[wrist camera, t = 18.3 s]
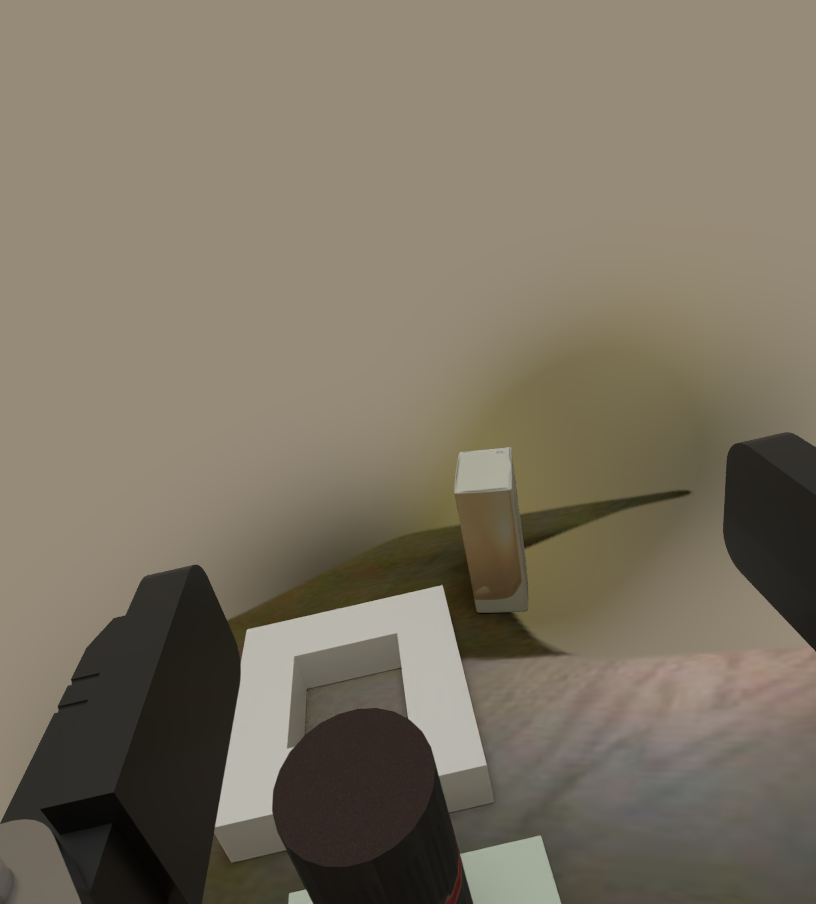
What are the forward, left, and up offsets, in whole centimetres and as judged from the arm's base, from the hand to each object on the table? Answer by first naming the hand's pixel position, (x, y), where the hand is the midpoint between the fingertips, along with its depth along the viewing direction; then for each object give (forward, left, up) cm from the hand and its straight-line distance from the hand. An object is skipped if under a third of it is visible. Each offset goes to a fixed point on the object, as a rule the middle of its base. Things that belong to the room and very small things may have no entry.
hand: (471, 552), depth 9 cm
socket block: (+8, -23, -30) cm, 39 cm away
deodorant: (+5, -7, -29) cm, 30 cm away
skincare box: (-5, -33, -30) cm, 45 cm away
